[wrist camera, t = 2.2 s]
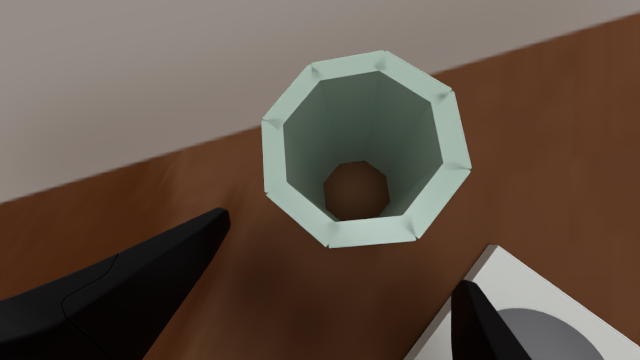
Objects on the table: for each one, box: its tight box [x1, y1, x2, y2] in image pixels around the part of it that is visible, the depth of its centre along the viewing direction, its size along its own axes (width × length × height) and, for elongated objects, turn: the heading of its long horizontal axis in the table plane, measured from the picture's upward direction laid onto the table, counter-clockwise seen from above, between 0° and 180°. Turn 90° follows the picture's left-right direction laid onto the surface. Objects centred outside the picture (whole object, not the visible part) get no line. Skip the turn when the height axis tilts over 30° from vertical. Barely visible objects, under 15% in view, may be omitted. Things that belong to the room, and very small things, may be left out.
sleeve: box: [262, 50, 472, 248], centre depth 14 cm, size 7×7×12 cm
